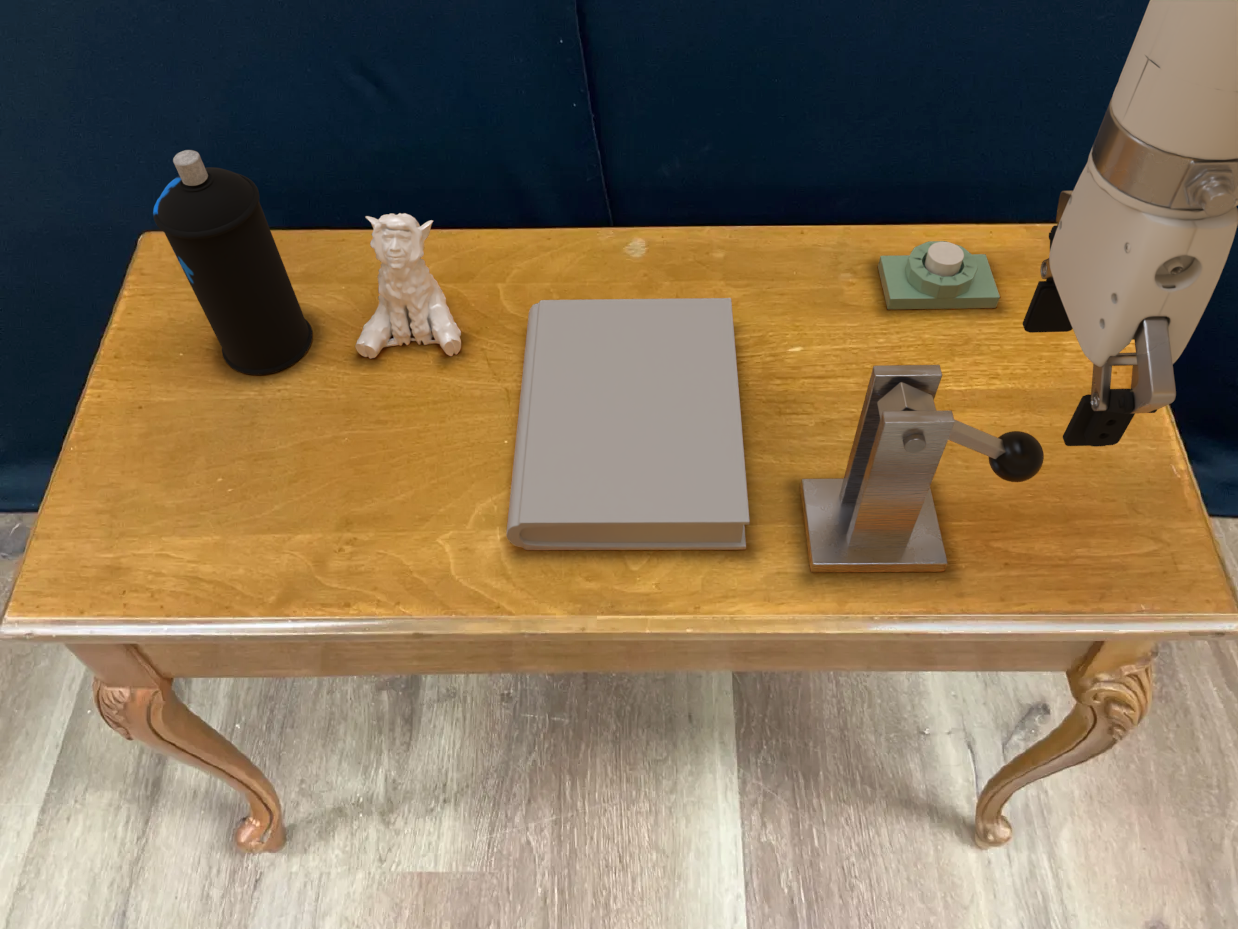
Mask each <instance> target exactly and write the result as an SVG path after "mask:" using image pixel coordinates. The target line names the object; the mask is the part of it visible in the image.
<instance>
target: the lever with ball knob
mask: <svg viewBox="0 0 1238 929" xmlns="http://www.w3.org/2000/svg"><path fill="white" fill-rule="evenodd" d="M877 404H878V409H879V414H880V419H881V416H882V413H883V411H937V408H936V404H935V399H934V400H933V396H932V395H930V394H928V393H926V392H923V391H921V390H919V389H917V388H914V387H912V386H910V385H907V384H905V383H903V382H900V383H899V384H898V385H897V386H895V387H894V388H893V389H892V390H891V391H890V392H888V393H887V394H886V395H885V396H884V397H883V398H881V399H880V400H879V401H878V402H877ZM954 421H955V423H954V426H953V428H952V431H951V433H950V436H949V439H948V441H951V442H953V443H955V444H958V445H960V446H962V447H964V448H967V449H970V450H972V451H973V452H974V451H975V452H977V453H978V454H981V455H984V456H986V457H988V464H989V467H990V469H991V470H992V472H993V473H994V474H995V475H996V476H997V477H999V479H1002V480H1003V481H1006V482H1009V483H1023V482H1026V481H1028V480H1031V479H1033V477H1035V476H1036V475H1037V474H1038V473H1039V472H1040V470H1042V467H1043V464H1044V461H1045V460H1044V458H1045V455H1044V454H1045V452H1044V448H1043V447H1042V444H1041V443H1040V441H1039V440H1038V439H1037V438H1036V437H1035V436H1033V435H1032V434H1030V433H1028V432H1025V431H1020V430H1013V431H1008V432H1004V433H1002V434H1001V435H999V436H998V437H997V436H995V435H992V434H991V433H988V432H985V431H983V430H980V429H978V428H975V427H974V426H971V425H969V424H966V423H964V422H961V421H959V420H957V419H955V418H954Z"/></svg>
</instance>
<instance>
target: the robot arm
mask: <svg viewBox="0 0 1238 929" xmlns="http://www.w3.org/2000/svg"><path fill="white" fill-rule="evenodd" d="M1119 75H1120V76H1119V78H1118V82H1117V84H1116V86H1115V88H1114V91H1113V94H1112V97H1111V98H1110V100H1109V104H1108V106H1107V108H1106V110H1105V113H1104V116H1103V118H1102V121H1101V124H1100V126H1099V129H1098V131H1097V134H1096V136H1095V139H1094V142H1093V144H1092V147H1091V149H1090V152H1089V154H1088V158H1087V162H1086V164H1085V166H1084V167H1083V169H1082V172H1081V173H1080V175H1079V177H1078V179H1077V182H1076V184H1075V186H1074V187H1073V190H1062V191H1061V192H1060V194H1059V197H1058V202H1057V207H1056V208H1057V210H1056V216H1055V222H1056V223H1057V224H1056V225H1053V226H1052V227H1051V229H1050V232H1048V240H1049V255H1048V256H1049V257H1048V258H1045V259H1044V260H1042V261H1041V264H1040V269H1039V271H1040V277H1041V279H1042V280H1038V282H1037V285H1036V287H1035V290H1034V293H1033V294H1032V298H1031V300H1030V303H1029V306H1028V308H1027V310H1026V313H1025V315H1024V318H1023V321H1022V326H1023V329H1024V331H1025V332H1027V333H1030V334H1031V333H1032V334H1034V333H1037V334H1038V333H1068V332H1071V331H1072V330H1073V333H1074V335H1075V337H1076V338H1075V339H1076V340H1077V342H1078V345H1079V347H1080V349H1081V351H1082V353H1083V354H1084V356H1085V357H1086V358H1087V359H1088V361H1089V362H1091V363H1092V375H1091V376H1092V377H1091V388H1090V394H1084V395H1082V397H1081V398H1080V400H1079V402H1078V404H1077V406H1076V407H1075V409H1074V412H1073V414H1072V417H1071V418H1070V420H1069V422H1068V424H1067V426H1066V428H1065V430H1064V432H1063V434H1062V440H1063V442H1064V445H1065V446H1067V447H1094V448H1095V447H1096V448H1097V447H1106V446H1114V445H1117V444H1118V443H1119V442H1120V441H1121V439H1122V437H1123V436H1124V435H1125V432H1126V430H1127V428H1128V427H1129V425H1130V424H1131V422H1132V420H1133V418H1134V416H1135V415H1136V414H1155V413H1156V412H1157V411H1158V410H1160V409H1162V408H1164V407H1166V406H1168V405H1171V404H1172V403H1173V402H1174V401H1175V400H1176V396H1177V391H1176V390H1177V389H1176V381H1175V374H1174V373H1175V372H1174V366H1173V365H1174V364H1175V363H1176V362H1177V361H1178V359H1179V358H1180V357H1181V355H1182V354H1183V352H1184V350H1185V349H1186V348H1187V345H1188V344H1189V342H1190V340H1191V338H1192V336H1193V334H1194V332H1195V331H1196V328H1197V327H1198V325H1199V323H1200V320H1201V318H1202V317H1203V315H1204V312H1205V311H1206V308H1207V306H1208V304H1209V302H1210V300H1211V298H1212V296H1213V293H1214V291H1215V289H1216V286H1217V285H1218V282H1219V280H1220V278H1221V275H1222V273H1223V269H1224V268H1225V265H1226V263H1227V260H1228V257H1229V254H1230V251H1231V248H1232V245H1233V242H1234V239H1235V235H1236V233H1237V228H1238V208H1237V206H1238V0H1149V2H1148V4H1147V6H1146V10H1145V12H1144V15H1143V17H1142V20H1141V23H1140V25H1139V27H1138V30H1137V32H1136V36H1135V38H1134V40H1133V43H1132V45H1131V48H1130V50H1129V53H1128V54H1127V58H1126V61H1125V63H1124V64H1123V68H1122V71H1121V73H1120V74H1119ZM1132 340H1134V348H1135V352H1122V351H1123V350H1125V349H1126V347H1128V346H1129V345H1130V344H1131V342H1132ZM1122 366H1124V367H1125V366H1132V369H1131V380H1130V388H1129V387H1128V388H1127V387H1126V388H1111V386H1112V373H1113V367H1122Z"/></svg>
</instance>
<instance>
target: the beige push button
mask: <svg viewBox="0 0 1238 929" xmlns="http://www.w3.org/2000/svg"><path fill="white" fill-rule="evenodd" d="M955 244H956V243H953V242H949V241H947V242H937V243H934V244H932V245H931V246H930V247H929V249H928V252H927V256H926V259H925V267H926V269H927V270H928V271H929V272H930V273H933V274H936V275H939V276H942V277H951V276H954V275H956V274H957V273H958V272H959V270H960V267H961V264H962V261H963V258H964V253H963V251H962V249H961V248H960V247H959V246H960V245H959V246H957V245H958V244H956V245H955Z"/></svg>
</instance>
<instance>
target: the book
mask: <svg viewBox="0 0 1238 929" xmlns="http://www.w3.org/2000/svg"><path fill="white" fill-rule="evenodd" d="M734 325H735V324H734V315H733V303H732V297H705V298H704V297H701V298H699V297H697V298H696V297H695V298H694V297H693V298H614V299H613V298H607V299H606V298H604V299H603V298H602V299H601V298H600V299H541V300H539V302H537V303H536V302H535V303H534V304H532V305H531V306H530V308H529V311H528V316H527V326H526V335H525V336H526V337H525V346H524V347H525V348H524V358H523V364H522V365H523V366H522V376H521V386H520V396H519V407H518V416H517V425H516V434H515V443H514V444H515V445H514V454H513V463H512V464H513V465H512V474H511V484H510V492H509V495H510V496H509V504H508V513H507V525H506V532H505V533H506V535H505V536H506V539H507V540H508V542H509V543H510V544H511V545H512V546H515V547H517V548H518V547H519V548H522V549H523V550H525V551H681V550H682V551H688V550H689V551H695V550H697V551H699V550H700V551H703V550H704V551H709V550H710V551H712V550H713V551H717V550H719V551H720V550H723V551H724V550H727V551H728V550H729V551H731V550H732V551H733V550H735V551H737V550H740V551H741V550H747V540H746V527H745V526H749V525H750V511H749V508H750V507H749V497H748V496H749V495H748V485H747V474H746V473H747V472H746V460H745V449H744V439H743V438H744V437H743V425H742V413H741V401H740V400H741V398H740V389H739V388H740V386H739V376H738V375H739V374H738V364H737V352H736V340H735V338H736V337H735V329H734V328H735V326H734Z"/></svg>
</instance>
